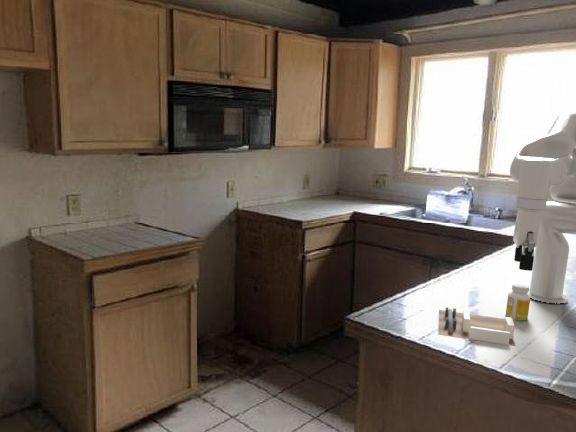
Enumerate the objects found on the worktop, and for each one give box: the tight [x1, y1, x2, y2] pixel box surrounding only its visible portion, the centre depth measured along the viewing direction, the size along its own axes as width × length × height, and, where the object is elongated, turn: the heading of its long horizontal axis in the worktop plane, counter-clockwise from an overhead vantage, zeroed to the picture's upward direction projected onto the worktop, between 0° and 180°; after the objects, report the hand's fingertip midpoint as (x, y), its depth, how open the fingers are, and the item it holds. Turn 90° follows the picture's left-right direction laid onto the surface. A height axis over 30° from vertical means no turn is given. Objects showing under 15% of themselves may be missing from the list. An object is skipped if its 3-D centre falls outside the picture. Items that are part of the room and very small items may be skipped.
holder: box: [462, 310, 515, 346], centre depth 128 cm, size 10×12×4 cm
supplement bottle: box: [505, 283, 531, 322], centre depth 141 cm, size 6×6×10 cm
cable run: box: [444, 306, 457, 334], centre depth 135 cm, size 16×3×2 cm, turn 163°
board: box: [437, 309, 516, 347], centre depth 134 cm, size 19×18×1 cm
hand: (522, 265), depth 139 cm, fingers open, 9 cm apart
